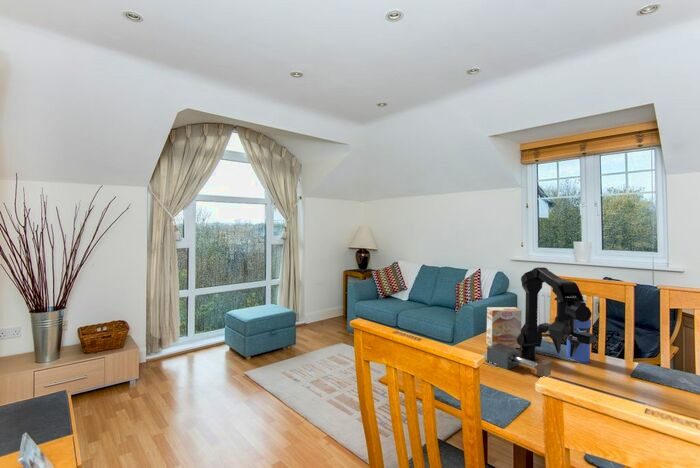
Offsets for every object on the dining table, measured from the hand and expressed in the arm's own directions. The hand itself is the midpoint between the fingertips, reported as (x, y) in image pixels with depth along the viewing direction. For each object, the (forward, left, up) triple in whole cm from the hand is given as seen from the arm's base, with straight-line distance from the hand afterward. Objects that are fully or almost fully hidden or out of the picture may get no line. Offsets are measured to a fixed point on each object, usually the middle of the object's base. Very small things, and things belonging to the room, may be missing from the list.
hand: (565, 355), depth 133 cm
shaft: (0, -16, -11) cm, 19 cm away
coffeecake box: (-20, -39, -12) cm, 46 cm away
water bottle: (-33, -10, -12) cm, 37 cm away
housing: (0, -26, -12) cm, 29 cm away
